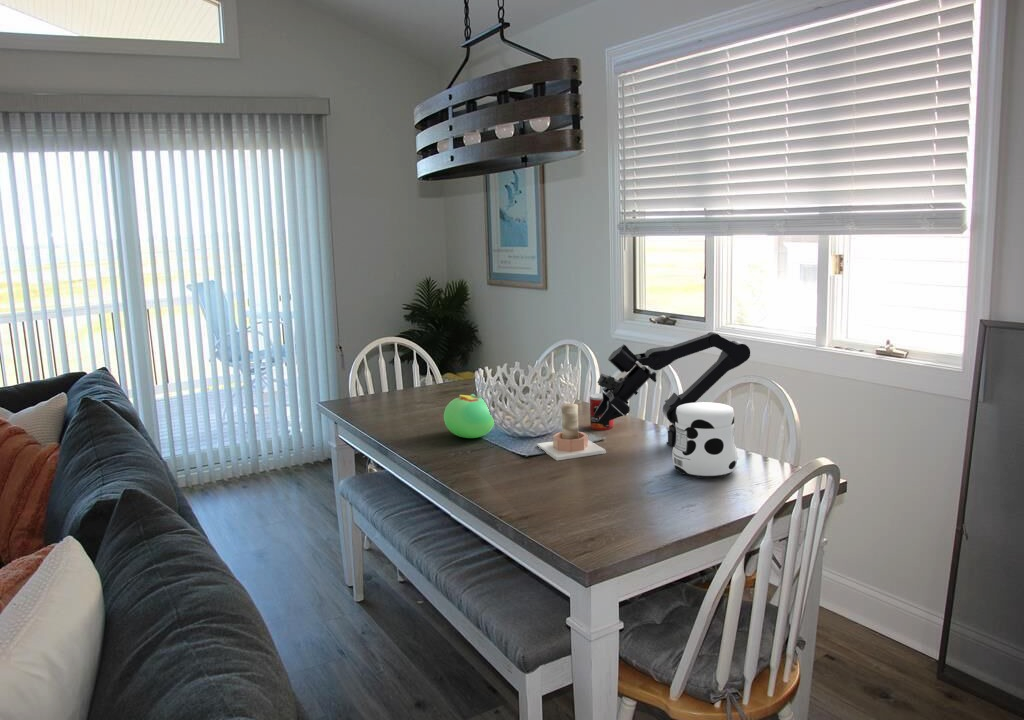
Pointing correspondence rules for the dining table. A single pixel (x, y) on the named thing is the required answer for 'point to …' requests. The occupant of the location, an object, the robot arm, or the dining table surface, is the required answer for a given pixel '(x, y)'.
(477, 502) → the dining table surface
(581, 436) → the octagonal ring base
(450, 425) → the toy bird
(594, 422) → the canned food
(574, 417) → the beech peg
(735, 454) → the milk container
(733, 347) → the robot arm
